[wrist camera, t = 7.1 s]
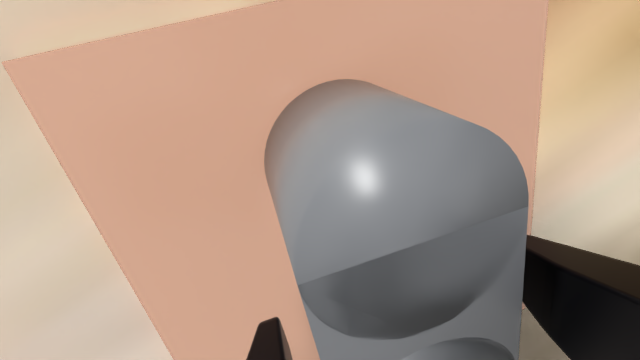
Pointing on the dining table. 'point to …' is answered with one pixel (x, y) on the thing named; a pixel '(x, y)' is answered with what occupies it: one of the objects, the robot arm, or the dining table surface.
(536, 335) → the dining table surface
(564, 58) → the dining table surface
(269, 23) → the plate
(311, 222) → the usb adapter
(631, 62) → the dining table surface
